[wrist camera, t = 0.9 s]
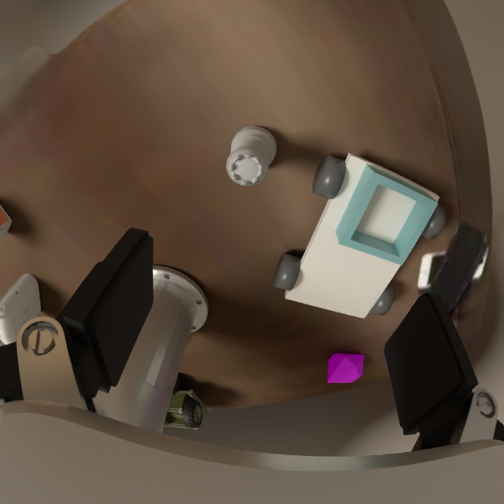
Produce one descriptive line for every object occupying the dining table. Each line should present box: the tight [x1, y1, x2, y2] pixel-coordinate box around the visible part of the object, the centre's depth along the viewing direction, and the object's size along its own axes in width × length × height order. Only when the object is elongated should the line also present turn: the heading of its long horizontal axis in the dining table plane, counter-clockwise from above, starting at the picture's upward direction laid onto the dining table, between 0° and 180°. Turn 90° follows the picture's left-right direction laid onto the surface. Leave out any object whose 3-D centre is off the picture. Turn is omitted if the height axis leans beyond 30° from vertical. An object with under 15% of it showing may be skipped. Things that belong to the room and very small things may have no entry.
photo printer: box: [0, 273, 41, 344], centre depth 39 cm, size 10×4×12 cm, turn 154°
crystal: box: [327, 354, 364, 383], centre depth 43 cm, size 5×5×5 cm
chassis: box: [274, 153, 446, 318], centre depth 30 cm, size 18×15×6 cm
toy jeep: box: [164, 377, 207, 429], centre depth 51 cm, size 12×25×11 cm, turn 102°
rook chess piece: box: [226, 126, 277, 186], centre depth 25 cm, size 4×4×8 cm
